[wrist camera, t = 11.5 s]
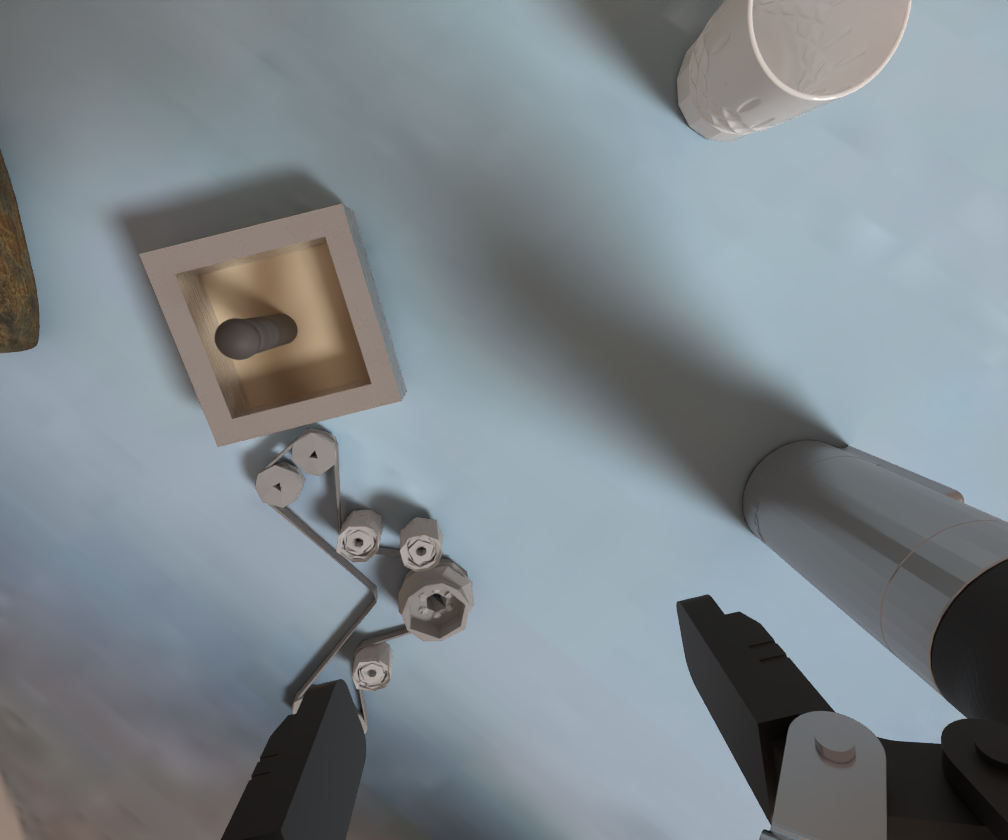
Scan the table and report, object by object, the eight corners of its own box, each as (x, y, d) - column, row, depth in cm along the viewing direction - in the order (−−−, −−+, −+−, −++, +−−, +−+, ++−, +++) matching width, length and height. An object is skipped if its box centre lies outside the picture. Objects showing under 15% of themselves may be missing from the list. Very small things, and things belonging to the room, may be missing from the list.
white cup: (685, 171, 35) (770, 126, 25) (651, 43, 33) (729, -59, 23) (797, 125, 34) (925, 62, 25) (769, -6, 32) (897, -130, 23)
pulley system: (465, 416, 39) (255, 426, 37) (470, 436, 34) (231, 448, 33) (475, 708, 47) (302, 728, 45) (480, 755, 42) (288, 779, 40)
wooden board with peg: (345, 215, 34) (303, 190, 25) (398, 389, 37) (377, 422, 28) (166, 259, 34) (61, 250, 25) (235, 431, 37) (162, 476, 28)
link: (353, 210, 33) (342, 203, 30) (406, 391, 36) (401, 400, 33) (167, 256, 33) (139, 253, 30) (238, 433, 36) (217, 446, 33)
